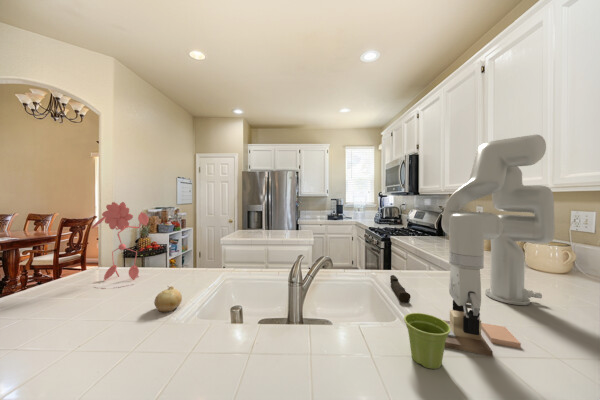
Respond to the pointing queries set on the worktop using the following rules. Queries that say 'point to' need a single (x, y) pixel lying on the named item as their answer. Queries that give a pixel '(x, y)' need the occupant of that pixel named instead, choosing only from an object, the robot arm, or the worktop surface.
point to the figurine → (120, 218)
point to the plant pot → (427, 338)
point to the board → (468, 344)
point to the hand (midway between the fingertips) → (464, 323)
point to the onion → (168, 300)
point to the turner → (460, 326)
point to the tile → (500, 335)
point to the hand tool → (399, 290)
